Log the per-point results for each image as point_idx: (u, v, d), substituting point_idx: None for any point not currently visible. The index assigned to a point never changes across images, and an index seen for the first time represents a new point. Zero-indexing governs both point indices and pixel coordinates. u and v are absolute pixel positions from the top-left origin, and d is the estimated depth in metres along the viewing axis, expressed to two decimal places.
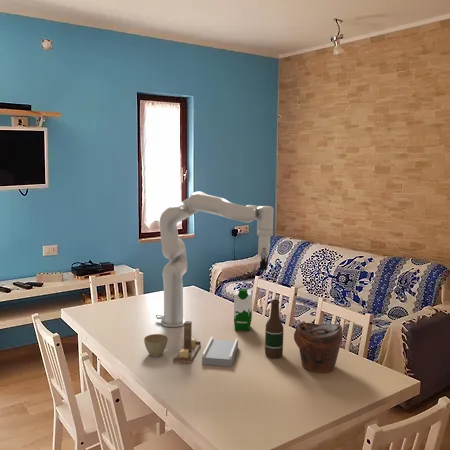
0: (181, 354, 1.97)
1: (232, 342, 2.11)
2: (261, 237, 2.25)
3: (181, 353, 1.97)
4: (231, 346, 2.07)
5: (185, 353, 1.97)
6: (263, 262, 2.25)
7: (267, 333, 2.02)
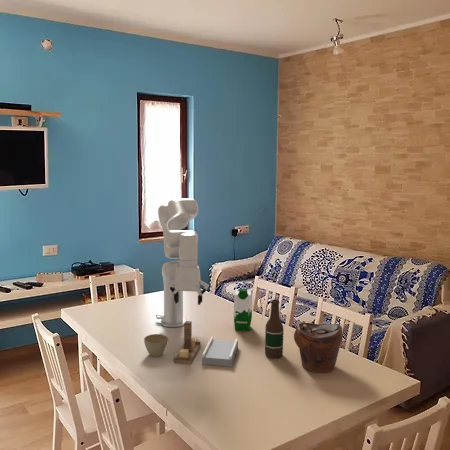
0: (181, 354, 1.97)
1: (232, 342, 2.11)
2: (198, 268, 1.98)
3: (181, 353, 1.97)
4: (231, 346, 2.07)
5: (185, 353, 1.97)
6: None
7: (267, 333, 2.02)
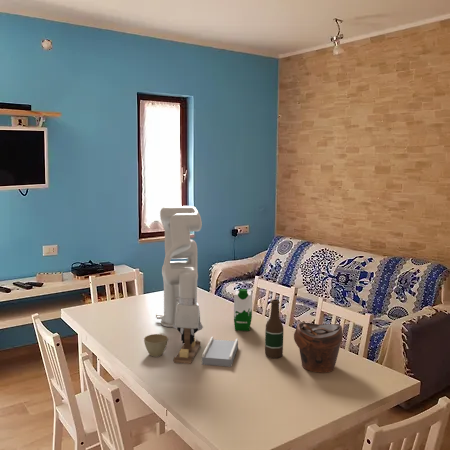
0: (181, 354, 1.97)
1: (232, 342, 2.11)
2: (197, 306, 2.01)
3: (181, 353, 1.97)
4: (231, 346, 2.07)
5: (185, 353, 1.97)
6: None
7: (267, 333, 2.02)
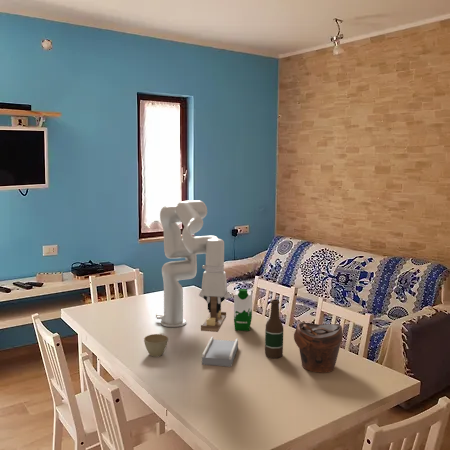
0: (208, 322, 1.95)
1: (232, 342, 2.11)
2: (224, 274, 1.98)
3: (208, 321, 1.94)
4: (231, 346, 2.07)
5: (212, 321, 1.94)
6: (220, 303, 2.01)
7: (267, 333, 2.02)
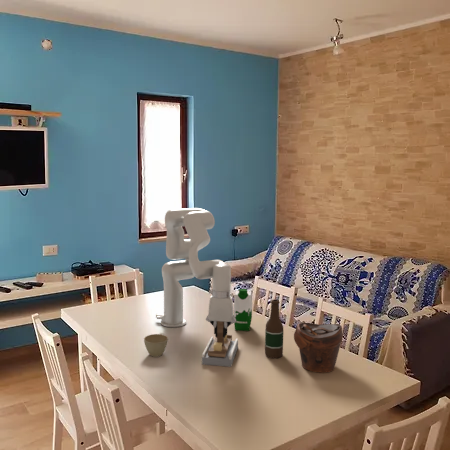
0: (215, 347, 1.96)
1: (232, 342, 2.11)
2: (231, 299, 1.99)
3: (215, 346, 1.96)
4: (231, 346, 2.07)
5: (219, 346, 1.95)
6: None
7: (267, 333, 2.02)
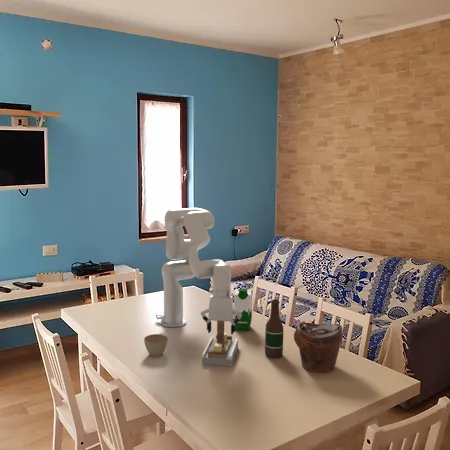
0: (215, 348, 1.96)
1: (232, 342, 2.11)
2: (231, 299, 1.99)
3: (215, 347, 1.96)
4: (231, 346, 2.07)
5: (219, 347, 1.96)
6: None
7: (267, 333, 2.02)
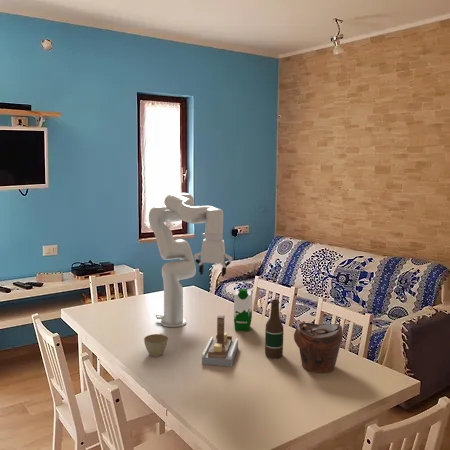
0: (215, 348, 1.96)
1: (232, 342, 2.11)
2: (223, 242, 2.09)
3: (215, 347, 1.96)
4: (231, 346, 2.07)
5: (219, 347, 1.96)
6: (225, 267, 2.12)
7: (267, 333, 2.02)
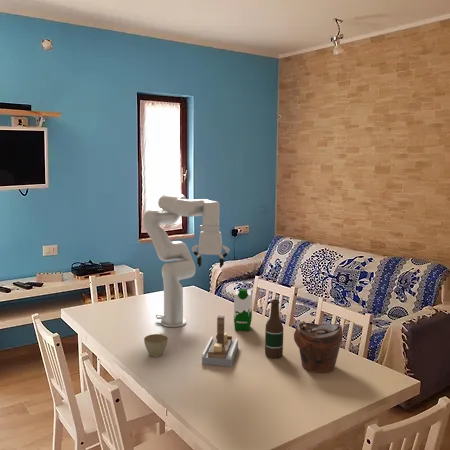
0: (215, 348, 1.96)
1: (232, 342, 2.11)
2: (220, 233, 2.13)
3: (215, 347, 1.96)
4: (231, 346, 2.07)
5: (219, 347, 1.96)
6: (223, 259, 2.16)
7: (267, 333, 2.02)
